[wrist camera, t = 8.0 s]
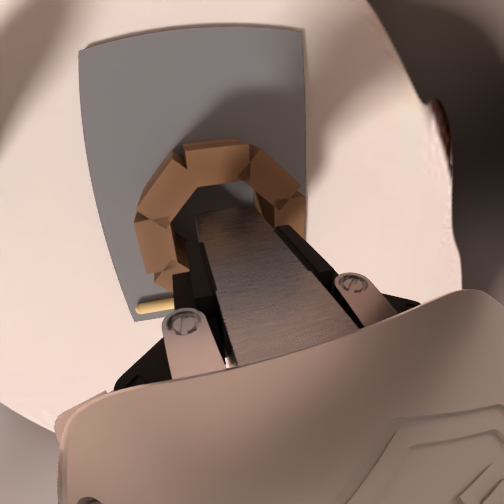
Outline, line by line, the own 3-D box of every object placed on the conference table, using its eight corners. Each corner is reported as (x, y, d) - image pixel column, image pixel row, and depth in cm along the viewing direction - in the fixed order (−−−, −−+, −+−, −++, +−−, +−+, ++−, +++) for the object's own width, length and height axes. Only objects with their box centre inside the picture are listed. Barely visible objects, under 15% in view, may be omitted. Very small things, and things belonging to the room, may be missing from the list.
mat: (81, 52, 10) (74, 48, 9) (297, 33, 14) (306, 28, 12) (134, 316, 20) (133, 328, 19) (298, 284, 23) (304, 293, 22)
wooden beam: (194, 213, 13) (261, 429, 4) (252, 205, 14) (396, 375, 5) (202, 265, 15) (263, 467, 6) (255, 255, 15) (361, 431, 6)
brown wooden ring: (133, 152, 14) (121, 163, 11) (277, 135, 16) (306, 141, 13) (159, 279, 19) (159, 315, 15) (279, 257, 21) (301, 286, 17)
